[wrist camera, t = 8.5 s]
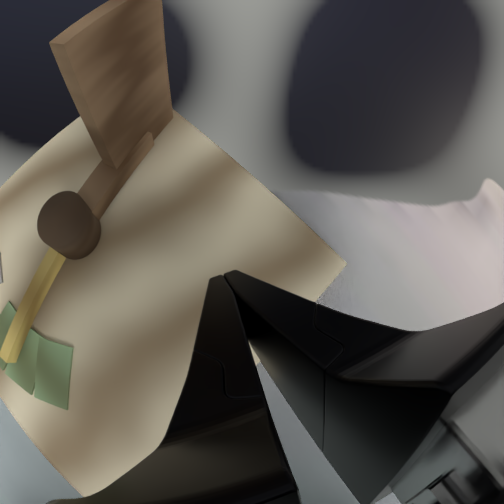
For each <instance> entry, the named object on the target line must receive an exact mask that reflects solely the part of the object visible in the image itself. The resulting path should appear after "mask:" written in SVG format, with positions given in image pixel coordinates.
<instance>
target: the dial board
mask: <svg viewBox="0 0 504 504" xmlns="http://www.w3.org/2000/svg"><path fill="white" fill-rule="evenodd" d="M172 111H173V119H172V120H171V121H170V122H169V123H168V124H167V126H166V127H165V128H164V129H163V130H162V131H161V133H160V134H159V135H158V136H157V137H156V139H155V140H154V146H153V147H152V149H151V150H150V151H149V152H148V154H147V155H146V156H145V157H144V159H143V160H142V161H141V163H140V164H139V165H138V166H137V168H136V169H135V170H134V172H133V173H132V174H131V176H130V177H129V178H128V180H127V181H126V183H125V184H124V185H123V187H122V188H121V189H120V191H119V192H118V194H117V195H116V197H115V198H114V199H113V201H112V202H111V204H110V205H109V207H108V208H107V210H106V211H105V213H104V214H103V216H102V217H101V219H100V220H99V221H100V224H101V236H100V240H99V242H98V244H97V246H96V248H95V249H94V250H93V251H92V252H91V253H90V254H89V255H88V256H86V257H84V258H82V259H78V260H72V259H68V258H66V259H65V261H64V263H63V265H62V267H61V268H60V270H59V272H58V274H57V276H56V277H55V279H54V281H53V283H52V285H51V287H50V289H49V291H48V293H47V294H46V296H45V298H44V300H43V302H42V304H41V307H40V309H39V311H38V313H37V315H36V317H35V319H34V321H33V323H32V326H31V328H30V330H29V332H28V335H27V337H26V339H25V342H24V344H23V346H22V349H21V351H20V354H19V356H18V359H17V361H16V363H6V362H5V361H4V360H3V359H2V358H1V357H0V397H1V398H2V400H3V402H4V403H5V405H6V406H7V408H8V409H9V411H10V412H11V414H12V415H13V416H14V418H15V419H16V421H17V422H18V423H19V425H20V426H21V428H22V429H23V430H24V432H25V433H26V434H27V435H28V437H29V438H30V439H31V441H32V442H33V443H34V444H35V446H36V447H37V448H38V449H39V450H40V452H41V453H42V454H43V455H44V456H45V458H46V459H47V460H48V461H49V462H50V463H51V464H52V465H53V467H54V468H55V469H56V470H57V471H58V472H59V473H60V474H61V475H62V476H63V477H64V478H65V479H66V480H67V481H68V482H69V483H70V484H71V485H72V486H73V487H74V488H75V489H76V490H77V491H78V492H79V493H80V494H81V495H82V496H83V497H86V496H90V495H92V494H94V493H97V492H99V491H101V490H102V489H104V488H106V487H107V486H109V485H110V484H111V483H113V482H114V481H115V480H117V479H118V478H120V477H121V476H122V475H124V474H125V473H126V472H128V471H129V470H130V469H132V468H133V467H134V466H136V465H137V464H138V463H139V462H141V461H142V460H143V459H145V458H146V457H147V456H148V455H150V454H151V453H152V452H153V451H154V450H155V449H156V448H157V447H158V446H159V444H160V443H161V441H162V440H163V438H164V436H165V434H166V431H167V429H168V426H169V423H170V421H171V418H172V415H173V413H174V410H175V407H176V405H177V402H178V399H179V397H180V394H181V391H182V388H183V386H184V383H185V380H186V377H187V373H188V369H189V365H190V361H191V357H192V352H193V348H194V343H195V339H196V334H197V330H198V325H199V321H200V316H201V312H202V307H203V303H204V299H205V294H206V290H207V286H208V282H209V279H210V278H212V277H215V276H217V275H223V274H224V273H226V272H229V271H232V270H238V271H241V272H243V273H246V274H248V275H250V276H253V277H255V278H257V279H260V280H262V281H265V282H267V283H269V284H272V285H274V286H277V287H279V288H281V289H284V290H286V291H289V292H291V293H293V294H296V295H298V296H301V297H303V298H306V299H308V300H311V301H313V302H315V301H316V300H317V299H318V298H319V297H320V296H321V294H322V293H323V292H324V291H325V290H326V289H327V287H328V286H329V285H330V284H331V283H332V282H333V280H334V279H335V278H336V277H337V276H338V274H339V273H340V272H341V271H342V270H343V268H344V267H345V266H346V265H347V263H346V262H345V261H344V260H343V259H342V258H341V257H340V256H339V255H338V254H337V253H336V252H335V251H334V250H333V249H332V248H331V247H330V246H329V245H327V244H326V243H325V242H324V241H323V240H322V239H321V238H320V237H319V236H318V235H317V234H316V233H315V232H314V231H313V230H312V229H311V228H310V227H309V226H308V225H306V224H305V223H304V222H303V221H302V220H301V219H300V218H299V217H298V216H297V215H296V214H295V213H294V212H292V211H291V210H290V209H289V208H288V207H287V206H286V205H285V204H284V203H283V202H282V201H280V200H279V199H278V198H277V197H276V196H275V195H274V194H273V193H272V192H270V191H269V190H268V189H267V188H266V187H265V186H264V185H263V184H261V183H260V182H259V181H258V180H257V179H256V178H255V177H253V176H252V175H251V174H250V173H249V172H248V171H247V170H246V169H244V168H243V167H242V166H241V165H240V164H239V163H237V162H236V161H235V160H234V159H233V158H232V157H230V156H229V155H228V154H227V153H226V152H225V151H223V150H222V149H221V148H220V147H219V146H217V145H216V144H215V143H214V142H213V141H212V140H210V139H209V138H208V137H207V136H205V135H204V134H203V133H202V132H201V131H199V130H198V129H197V128H196V127H195V126H193V125H192V124H191V123H190V122H188V121H187V120H186V119H185V118H183V117H182V116H181V115H179V114H178V113H177V112H176V111H175V110H173V109H172ZM101 160H102V158H101V157H100V155H99V153H98V151H97V149H96V147H95V145H94V143H93V141H92V139H91V137H90V135H89V133H88V131H87V129H86V127H85V124H84V122H83V120H82V118H81V116H80V117H79V118H78V119H76V120H75V121H74V122H72V123H71V124H70V125H68V126H67V127H66V128H65V129H63V130H62V131H61V132H60V133H58V134H57V135H56V136H55V137H53V138H52V139H51V140H50V141H49V142H48V143H47V144H45V145H44V146H43V147H42V148H41V149H40V150H38V151H37V152H36V153H35V154H34V155H33V156H32V157H31V158H30V159H29V160H27V162H25V163H24V164H23V165H22V166H21V167H20V168H19V169H18V170H17V171H16V172H15V173H14V174H13V175H12V176H11V177H10V178H9V179H8V180H7V181H6V182H5V183H4V184H3V185H2V186H1V187H0V351H1V348H2V345H3V343H4V340H5V338H6V335H7V333H8V330H9V328H10V325H11V323H12V321H13V319H14V316H15V314H16V312H17V310H18V307H19V305H20V303H21V301H22V299H23V297H24V295H25V293H26V291H27V289H28V287H29V285H30V283H31V281H32V279H33V277H34V275H35V273H36V271H37V269H38V267H39V266H40V264H41V262H42V260H43V258H44V257H45V255H46V253H47V251H48V250H49V248H50V246H48V245H47V244H45V243H44V242H43V241H42V240H41V238H40V237H39V234H38V231H37V219H38V215H39V213H40V210H41V208H42V207H43V205H44V204H45V203H46V201H47V200H48V199H49V198H50V197H52V196H53V195H55V194H57V193H59V192H62V191H73V192H75V193H78V191H79V190H80V188H81V187H82V186H83V184H84V183H85V181H86V180H87V179H88V177H89V176H90V175H91V173H92V172H93V171H94V169H95V168H96V167H97V165H98V164H99V163H100V162H101ZM249 345H250V343H249ZM250 348H251V351H252V355H253V358H254V361H255V365H257V364H258V363H259V362H260V359H259V358H258V356H257V355H256V353H255V352H254V350H253V348H252V347H251V345H250Z"/></svg>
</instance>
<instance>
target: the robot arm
mask: <svg viewBox="0 0 504 504" xmlns="http://www.w3.org/2000/svg"><path fill="white" fill-rule="evenodd" d="M249 343H250V345H251V347H252V348H253V350H254V352H255V353H256V355H257V356H258V358H259V359H260V361H261V362H262V364H263V366H264V367H265V369H266V370H267V372H268V373H269V375H270V376H271V378H272V379H273V381H274V383H275V384H276V386H277V387H278V389H279V390H280V392H281V393H282V395H283V396H284V398H285V399H286V401H287V402H288V404H289V405H290V407H291V408H292V410H293V411H294V413H295V414H296V415H297V417H298V418H299V420H300V421H301V423H302V424H303V426H304V427H305V429H306V430H307V431H308V433H309V434H310V436H311V437H312V439H313V440H314V441H315V443H316V444H317V446H318V447H319V448H320V450H321V451H322V452H323V454H324V456H325V457H326V458H327V460H328V461H329V463H330V464H331V465H332V467H333V468H334V469H335V471H336V472H337V473H338V475H339V476H340V478H341V479H342V480H343V482H344V483H345V484H346V486H347V487H348V488H349V490H350V491H351V492H352V493H353V495H354V496H355V497H356V499H357V500H358V501H359V503H360V504H374V503H376V502H377V501H379V500H381V499H382V498H384V497H386V496H387V495H389V494H390V493H392V492H393V493H394V494H395V496H396V497H397V498H398V500H399V501H400V503H401V504H504V303H502V304H500V305H498V306H496V307H494V308H492V309H490V310H487V311H485V312H482V313H479V314H476V315H473V316H470V317H467V318H465V319H462V320H458V321H455V322H452V323H449V324H446V325H443V326H440V327H436V328H433V329H429V330H425V331H406V330H402V329H398V328H394V327H390V326H386V325H383V324H379V323H375V322H372V321H368V320H364V319H361V318H357V317H354V316H351V315H348V314H344V313H342V312H339V311H336V310H333V309H331V308H328V307H326V306H323V305H321V304H317V303H315V302H313V301H311V300H308V299H306V298H303V297H301V296H298V295H296V294H293V293H291V292H289V291H286V290H284V289H281V288H279V287H277V286H274V285H272V284H269V283H267V282H265V281H262V280H260V279H257V278H255V277H253V276H250V275H248V274H246V273H243V272H241V271H238V270H232V271H229V272H226V273H224V274H223V275H217V276H215V277H212V278H210V279H209V282H208V286H207V290H206V294H205V299H204V303H203V307H202V312H201V316H200V321H199V325H198V330H197V334H196V339H195V343H194V348H193V352H192V357H191V361H190V365H189V369H188V373H187V377H186V380H185V383H184V386H183V388H182V391H181V394H180V397H179V399H178V402H177V405H176V407H175V410H174V413H173V415H172V418H171V421H170V423H169V426H168V429H167V431H166V434H165V436H164V438H163V440H162V441H161V443H160V444H159V446H158V447H157V448H156V449H155V450H154V451H153V452H152V453H151V454H150V455H148V456H147V457H146V458H145V459H143V460H142V461H141V462H139V463H138V464H137V465H136V466H134V467H133V468H132V469H130V470H129V471H128V472H126V473H125V474H124V475H122V476H121V477H120V478H118V479H117V480H115V481H114V482H113V483H111V484H110V485H109V486H107V487H106V488H104V489H102V490H101V491H99V492H97V493H94V494H92V495H90V496H86V497H83V498H77V499H57V500H51V501H49V502H47V503H46V504H302V502H301V498H300V494H299V489H298V487H297V484H296V482H295V479H294V477H293V474H292V472H291V469H290V466H289V464H288V461H287V458H286V455H285V453H284V450H283V447H282V444H281V442H280V439H279V436H278V433H277V430H276V428H275V425H274V422H273V419H272V416H271V413H270V410H269V407H268V404H267V401H266V397H265V394H264V391H263V388H262V384H261V381H260V378H259V375H258V371H257V368H256V365H255V361H254V358H253V355H252V351H251V348H250V345H249Z"/></svg>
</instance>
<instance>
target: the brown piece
mask: <svg viewBox="0 0 504 504" xmlns="http://www.w3.org/2000/svg"><path fill="white" fill-rule="evenodd" d="M49 44H50V46H51V49H52V51H53V54H54V56H55V59H56V61H57V64H58V66H59V69H60V71H61V74H62V76H63V78H64V81H65V83H66V85H67V87H68V90H69V92H70V94H71V96H72V99H73V101H74V103H75V105H76V108H77V110H78V112H79V114H80V116H81V118H82V120H83V122H84V124H85V127H86V129H87V131H88V133H89V135H90V137H91V139H92V141H93V143H94V145H95V147H96V149H97V151H98V153H99V155H100V157H101V158H102V160H101V162H100V163H99V164H98V165H97V167H96V168H95V169H94V171H93V172H92V173H91V175H90V176H89V177H88V179H87V180H86V181H85V183H84V184H83V186H82V187H81V188H80V190H79V191H78V193H75V192H73V191H62V192H59V193H57V194H55V195H53V196H52V197H50V198H49V199H48V200H47V201H46V203H45V204H44V205H43V207H42V208H41V210H40V213H39V215H38V219H37V231H38V234H39V237H40V238H41V240H42V241H43V242H44V243H45V244H47V245H48V246H50V248H49V250H48V251H47V253H46V255H45V257H44V258H43V260H42V262H41V264H40V266H39V267H38V269H37V271H36V273H35V275H34V277H33V279H32V281H31V283H30V285H29V287H28V289H27V291H26V293H25V295H24V297H23V299H22V301H21V303H20V305H19V307H18V310H17V312H16V314H15V316H14V319H13V321H12V323H11V325H10V328H9V330H8V333H7V335H6V338H5V340H4V343H3V345H2V348H1V351H0V357H1V358H2V359H3V360H4V361H5V362H6V363H16V361H17V359H18V356H19V354H20V351H21V349H22V346H23V344H24V342H25V339H26V337H27V335H28V332H29V330H30V328H31V326H32V323H33V321H34V319H35V317H36V315H37V313H38V311H39V309H40V307H41V304H42V302H43V300H44V298H45V296H46V294H47V293H48V291H49V289H50V287H51V285H52V283H53V281H54V279H55V277H56V276H57V274H58V272H59V270H60V268H61V267H62V265H63V263H64V261H65V259H66V258H68V259H72V260H78V259H82V258H84V257H86V256H88V255H89V254H90V253H91V252H92V251H93V250H94V249H95V248H96V246H97V244H98V242H99V240H100V236H101V224H100V221H99V220H100V219H101V217H102V216H103V214H104V213H105V211H106V210H107V208H108V207H109V205H110V204H111V202H112V201H113V199H114V198H115V197H116V195H117V194H118V192H119V191H120V189H121V188H122V187H123V185H124V184H125V183H126V181H127V180H128V178H129V177H130V176H131V174H132V173H133V172H134V170H135V169H136V168H137V166H138V165H139V164H140V163H141V161H142V160H143V159H144V157H145V156H146V155H147V154H148V152H149V151H150V150H151V149H152V147H153V146H154V140H155V139H156V137H157V136H158V135H159V134H160V133H161V131H162V130H163V129H164V128H165V127H166V126H167V124H168V123H169V122H170V121H171V120H172V119H173V111H172V104H171V95H170V87H169V77H168V68H167V58H166V48H165V36H164V24H163V10H162V0H109V1H107V2H106V3H104V4H102V5H101V6H99V7H98V8H96V9H95V10H93V11H92V12H90V13H89V14H87V15H86V16H84V17H83V18H81V19H80V20H78V21H77V22H75V23H74V24H73V25H71V26H70V27H69V28H67V29H66V30H65V31H63V32H62V33H61V34H59V35H58V36H57V37H55V38H54V39H53V40H52V41H51V42H49Z"/></svg>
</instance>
